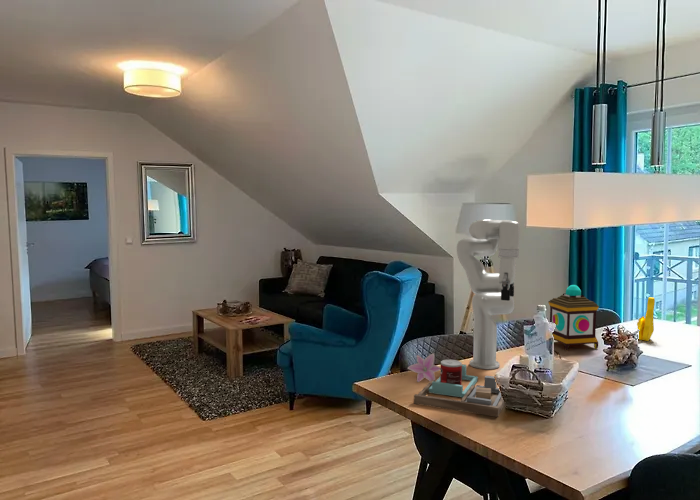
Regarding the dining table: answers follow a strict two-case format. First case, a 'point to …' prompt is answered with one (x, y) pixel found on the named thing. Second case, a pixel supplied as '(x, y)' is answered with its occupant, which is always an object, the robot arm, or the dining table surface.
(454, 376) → the canned food
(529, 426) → the dining table surface
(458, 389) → the teal rectangular frame
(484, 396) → the tan wooden cube
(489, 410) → the divided compartment tray
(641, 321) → the yellow foam finger
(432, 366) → the lily
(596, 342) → the decorative lantern
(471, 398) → the grey organizer tray
